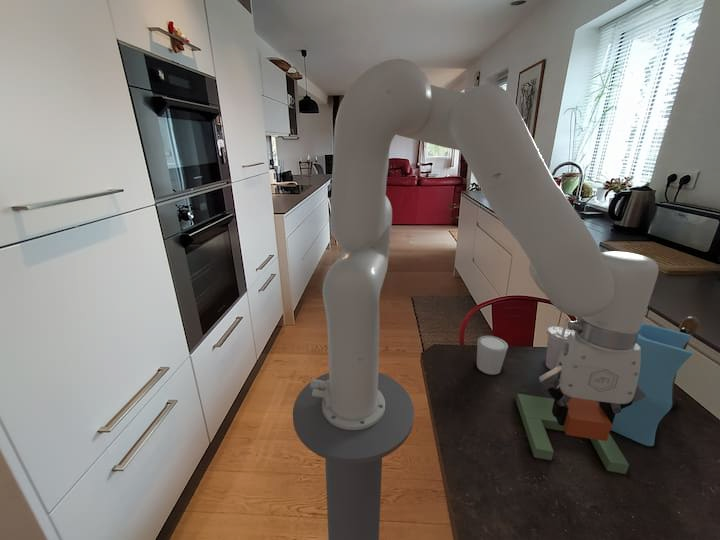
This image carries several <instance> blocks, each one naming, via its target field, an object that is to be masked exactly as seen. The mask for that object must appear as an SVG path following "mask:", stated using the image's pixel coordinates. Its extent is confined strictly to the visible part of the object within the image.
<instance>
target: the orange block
mask: <svg viewBox="0 0 720 540" xmlns="http://www.w3.org/2000/svg"><path fill="white" fill-rule="evenodd" d="M599 404H600V403H599V401H593V400H586V399H579V398H573V397H572V398H571V399H570V400H569V401H568V403H567V406H568V412H567V415H566V419H565V422H564V425H563V429H564V431H563V432H564V433H565V435H566V436H572V437H577V438H584V439H589V440H590V439H596V440H602V441H607V439H608V436H609V433H610V432H611V431H612V430H611V427H612V424H611V422H610V421H609V419H608V418H607V416H606V415H605V413H604V411H603V410H602V408H601V407H600V405H599Z"/></svg>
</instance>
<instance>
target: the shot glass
mask: <svg viewBox="0 0 720 540" xmlns="http://www.w3.org/2000/svg"><path fill="white" fill-rule="evenodd" d="M476 345H477V346H476V367H477V369H478V370H479V371H480V372H482V373H484V374H487V375H494V376H495V375H498V374H500V373H501V371H502V367H503V365H504V361H505V358H506V354H507V352H508V348H509V345H508V343H507V342H506V340H503V339H502V338H500V337H497V336H494V335H482V336H480V337H478V339H477V344H476Z"/></svg>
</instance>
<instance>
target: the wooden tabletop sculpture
mask: <svg viewBox="0 0 720 540" xmlns="http://www.w3.org/2000/svg"><path fill="white" fill-rule="evenodd" d="M700 326H701V323H700V320H699V319H698V318H697V317H695V316H688V317H684V318H683V319H682V320H681V321H680V324H679V329H678V330H679V332H681V333H685V334H689V335H691V337H692V336H693V335H695V334H697V333H698V331H699V329H700ZM689 342H690V340H689V341H688V342H687V343H686V344H685V346H684V347H683V348H682V349H685V350H687V347H688V344H689ZM677 374H678V372H677V373H676V375H675V377H674V381H673V385H672V407H671V409H673V408H674V407H675V406H676V404H677V396H676V394H675V393H674V389H675V382H676V379H677Z"/></svg>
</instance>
